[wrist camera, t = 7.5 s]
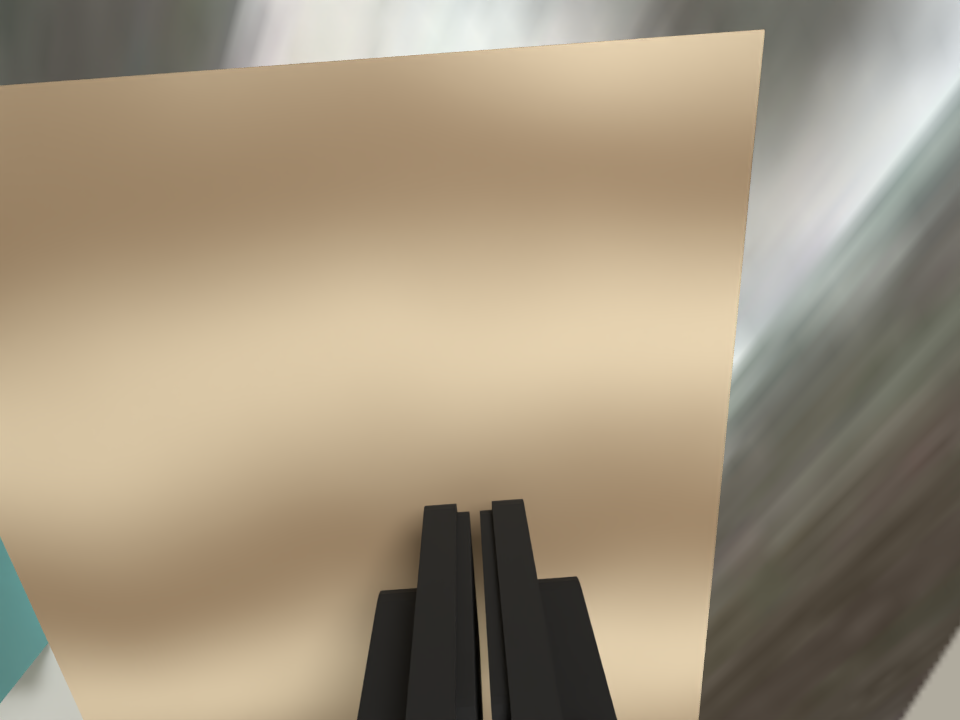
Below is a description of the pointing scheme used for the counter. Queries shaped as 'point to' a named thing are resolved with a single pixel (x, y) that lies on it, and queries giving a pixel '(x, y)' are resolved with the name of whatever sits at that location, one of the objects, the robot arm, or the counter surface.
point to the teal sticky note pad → (16, 627)
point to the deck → (367, 357)
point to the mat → (40, 693)
